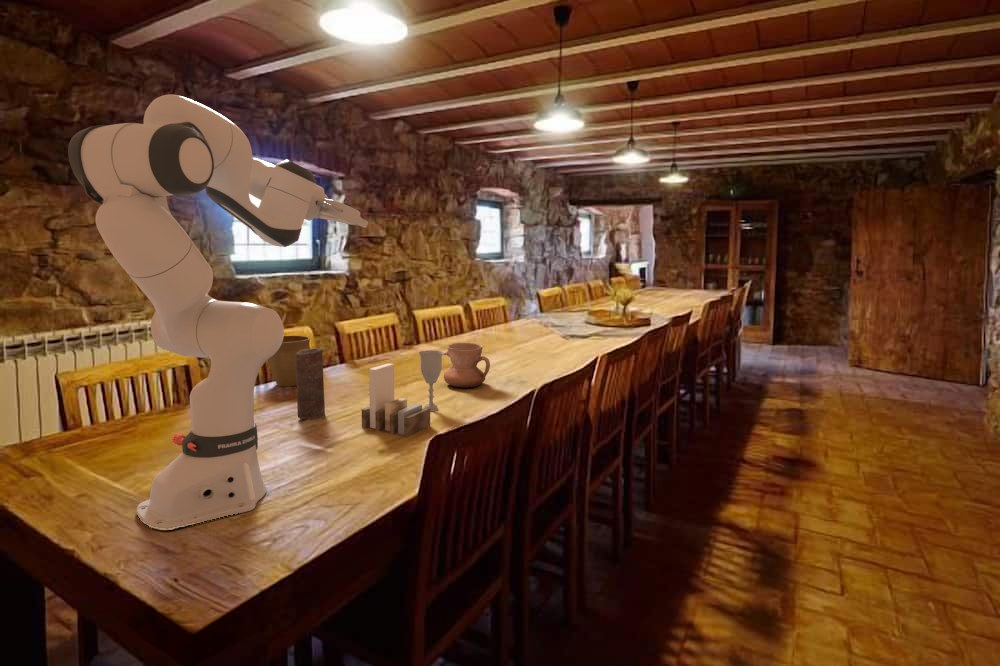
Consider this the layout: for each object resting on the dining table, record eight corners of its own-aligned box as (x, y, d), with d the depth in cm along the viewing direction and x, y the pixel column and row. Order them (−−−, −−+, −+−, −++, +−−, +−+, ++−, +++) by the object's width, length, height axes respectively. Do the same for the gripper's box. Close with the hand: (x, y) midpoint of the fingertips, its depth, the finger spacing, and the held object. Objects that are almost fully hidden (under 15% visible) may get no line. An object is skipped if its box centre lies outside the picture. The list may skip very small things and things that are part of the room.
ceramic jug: (432, 386, 205) (433, 346, 202) (453, 377, 217) (454, 339, 215) (478, 394, 197) (479, 352, 194) (497, 384, 210) (498, 345, 207)
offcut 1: (391, 431, 155) (390, 405, 154) (385, 429, 156) (384, 404, 154) (407, 423, 161) (406, 399, 160) (401, 422, 162) (400, 397, 161)
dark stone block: (316, 424, 162) (314, 352, 159) (292, 422, 164) (289, 351, 160) (329, 416, 169) (327, 347, 166) (306, 414, 171) (304, 346, 168)
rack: (408, 440, 151) (407, 418, 150) (362, 431, 157) (361, 409, 156) (430, 429, 159) (430, 408, 158) (385, 420, 166) (385, 400, 165)
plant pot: (320, 383, 206) (319, 337, 203) (284, 392, 194) (282, 344, 191) (292, 376, 214) (290, 333, 211) (256, 385, 201) (253, 339, 199)
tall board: (376, 428, 156) (375, 369, 154) (370, 427, 157) (369, 368, 155) (394, 420, 163) (394, 364, 161) (388, 419, 164) (388, 363, 162)
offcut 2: (404, 434, 152) (404, 412, 151) (398, 433, 153) (397, 411, 152) (422, 426, 159) (422, 404, 158) (416, 424, 160) (415, 403, 159)
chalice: (414, 413, 174) (413, 353, 171) (427, 407, 180) (427, 349, 177) (434, 417, 170) (435, 356, 167) (447, 411, 176) (448, 352, 173)
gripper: (331, 190, 135) (381, 214, 144) (297, 187, 150) (344, 208, 160) (321, 216, 135) (372, 238, 144) (288, 210, 150) (336, 230, 160)
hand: (357, 223), depth 152 cm, fingers open, 8 cm apart
